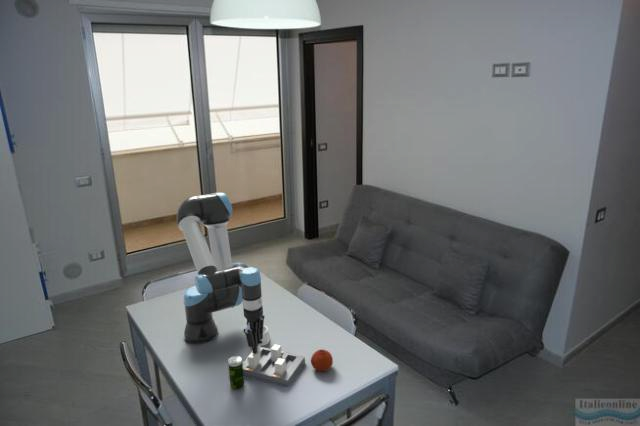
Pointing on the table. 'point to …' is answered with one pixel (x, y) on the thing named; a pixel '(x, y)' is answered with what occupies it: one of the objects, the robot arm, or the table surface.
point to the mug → (265, 336)
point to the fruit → (322, 360)
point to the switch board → (268, 368)
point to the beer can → (236, 373)
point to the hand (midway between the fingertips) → (257, 358)
